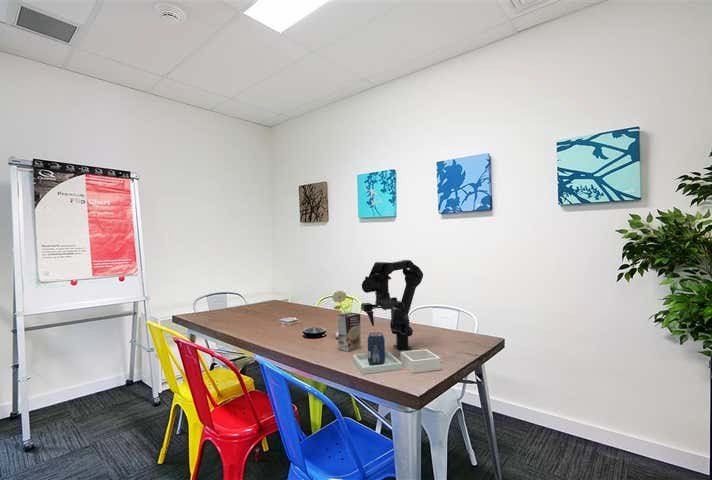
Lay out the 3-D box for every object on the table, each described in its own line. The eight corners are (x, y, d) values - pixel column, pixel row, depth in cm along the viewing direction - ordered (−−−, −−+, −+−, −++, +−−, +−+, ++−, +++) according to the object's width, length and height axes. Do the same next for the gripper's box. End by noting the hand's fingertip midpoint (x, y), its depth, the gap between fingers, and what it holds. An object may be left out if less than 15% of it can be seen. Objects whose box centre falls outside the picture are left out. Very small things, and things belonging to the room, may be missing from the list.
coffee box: (347, 352, 156) (346, 317, 156) (338, 349, 161) (337, 315, 161) (361, 347, 163) (360, 313, 163) (352, 344, 167) (351, 312, 167)
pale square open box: (400, 362, 140) (400, 351, 140) (426, 359, 144) (426, 349, 144) (412, 373, 129) (412, 361, 129) (440, 369, 132) (440, 358, 132)
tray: (352, 360, 144) (352, 354, 144) (388, 356, 149) (387, 351, 149) (363, 374, 129) (363, 367, 129) (402, 369, 133) (402, 363, 133)
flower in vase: (358, 334, 186) (357, 289, 186) (355, 340, 174) (354, 291, 175) (334, 334, 187) (333, 289, 187) (330, 340, 175) (329, 292, 176)
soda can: (379, 359, 144) (378, 331, 144) (388, 364, 137) (387, 334, 138) (365, 362, 140) (364, 333, 141) (373, 367, 134) (372, 337, 134)
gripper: (367, 293, 141) (368, 331, 141) (408, 291, 146) (409, 327, 146) (360, 290, 152) (360, 325, 152) (398, 288, 157) (399, 322, 157)
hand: (382, 325), depth 151 cm, fingers open, 9 cm apart
